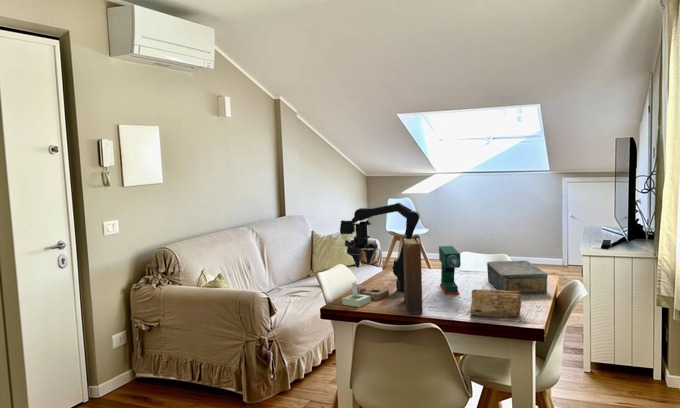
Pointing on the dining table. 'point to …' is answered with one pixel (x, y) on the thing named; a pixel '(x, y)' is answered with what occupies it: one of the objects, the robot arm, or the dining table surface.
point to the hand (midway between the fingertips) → (363, 265)
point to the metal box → (517, 277)
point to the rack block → (356, 300)
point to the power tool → (449, 269)
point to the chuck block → (376, 293)
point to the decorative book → (412, 274)
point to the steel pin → (356, 290)
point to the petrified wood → (495, 303)
